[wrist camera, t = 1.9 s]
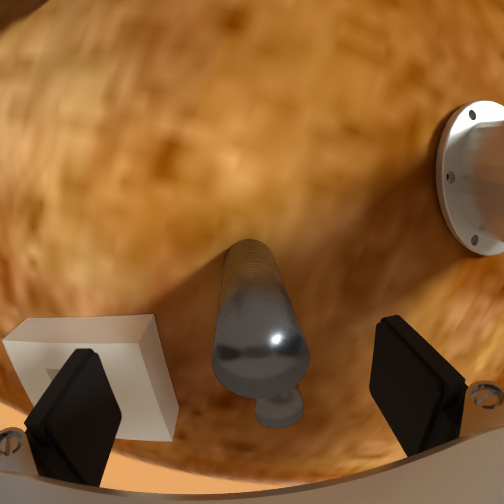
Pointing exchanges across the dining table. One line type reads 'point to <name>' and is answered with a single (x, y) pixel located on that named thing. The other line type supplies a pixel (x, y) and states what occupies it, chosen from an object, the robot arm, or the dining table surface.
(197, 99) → the dining table surface
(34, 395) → the hole block
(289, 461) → the dining table surface
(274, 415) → the short pin
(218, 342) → the long pin
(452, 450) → the robot arm
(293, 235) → the dining table surface
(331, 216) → the dining table surface
